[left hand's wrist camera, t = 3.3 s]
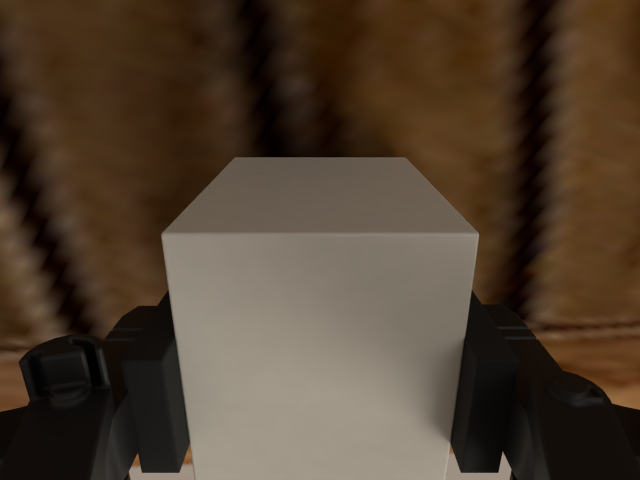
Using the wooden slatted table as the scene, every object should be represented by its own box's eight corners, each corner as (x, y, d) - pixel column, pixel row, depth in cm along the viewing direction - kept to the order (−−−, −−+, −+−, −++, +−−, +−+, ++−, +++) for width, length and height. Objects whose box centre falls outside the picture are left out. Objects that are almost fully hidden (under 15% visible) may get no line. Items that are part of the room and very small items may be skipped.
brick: (246, 337, 17) (198, 514, 10) (233, 157, 15) (159, 233, 8) (393, 337, 17) (441, 514, 10) (406, 156, 15) (481, 233, 8)
